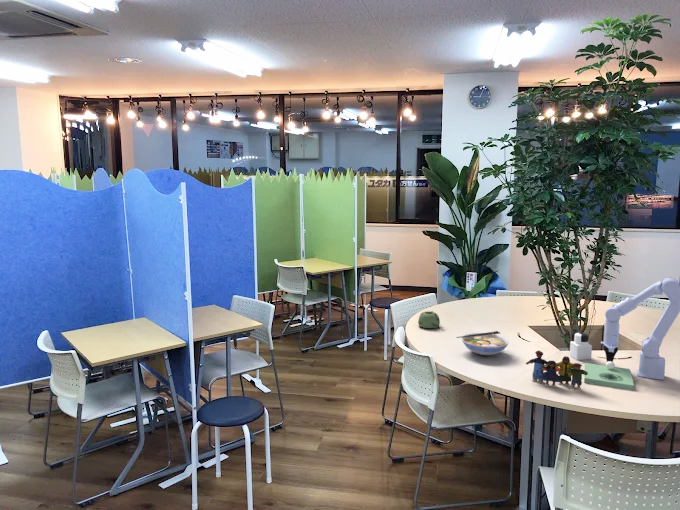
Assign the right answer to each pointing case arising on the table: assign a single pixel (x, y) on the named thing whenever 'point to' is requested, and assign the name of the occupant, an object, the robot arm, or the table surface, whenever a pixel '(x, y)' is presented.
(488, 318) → the table surface
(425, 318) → the green dome
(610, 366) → the ball
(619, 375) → the deck
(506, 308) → the table surface
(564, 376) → the doll family
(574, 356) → the medicine bottle
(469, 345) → the ramen bowl
